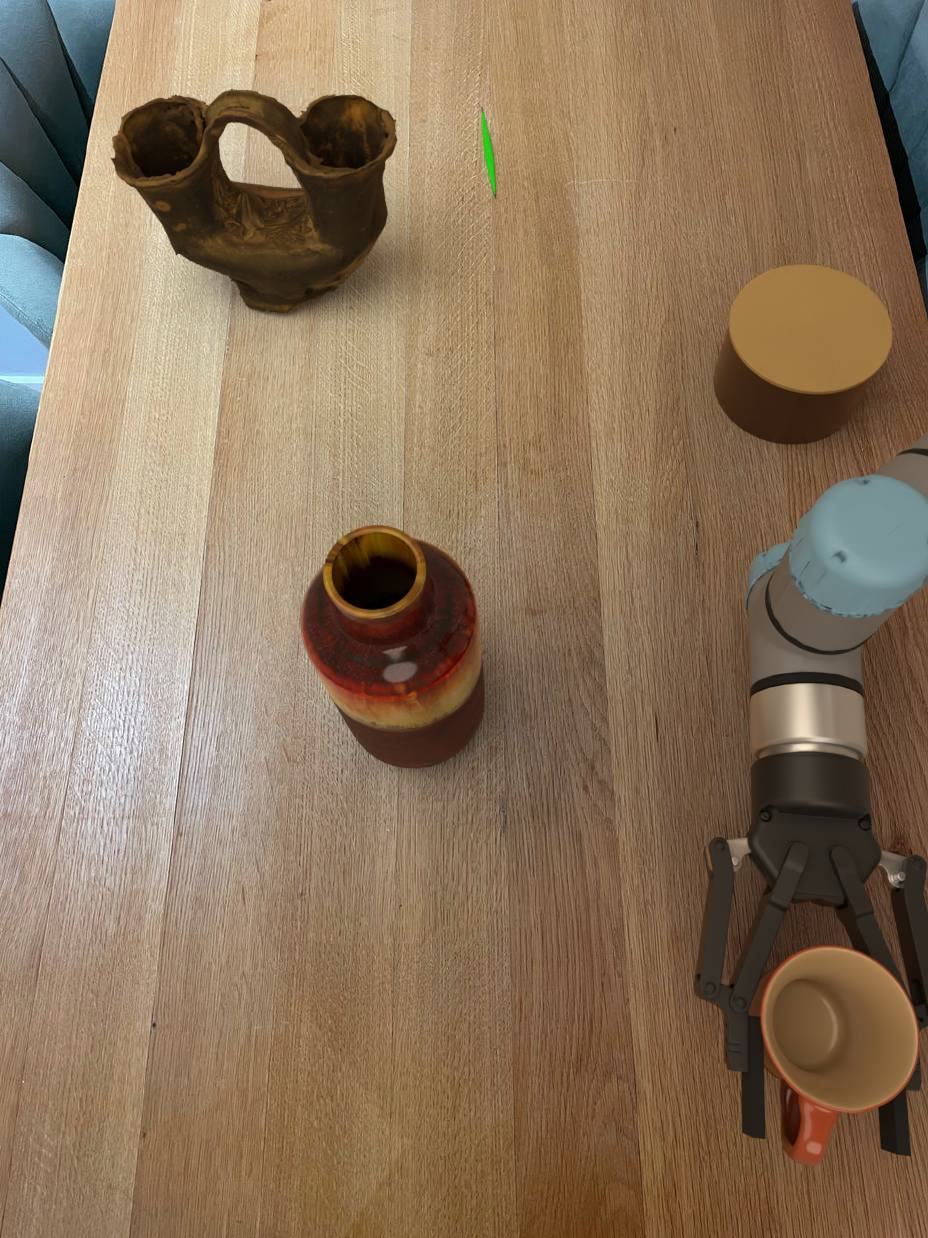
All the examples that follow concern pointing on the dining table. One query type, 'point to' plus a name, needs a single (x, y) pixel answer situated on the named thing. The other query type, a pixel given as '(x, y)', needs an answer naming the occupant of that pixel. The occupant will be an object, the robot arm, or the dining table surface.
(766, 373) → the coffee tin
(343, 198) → the pottery vessel
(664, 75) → the dining table surface
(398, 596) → the vase
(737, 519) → the dining table surface
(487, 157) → the leaf
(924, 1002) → the robot arm
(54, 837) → the dining table surface
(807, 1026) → the mug
